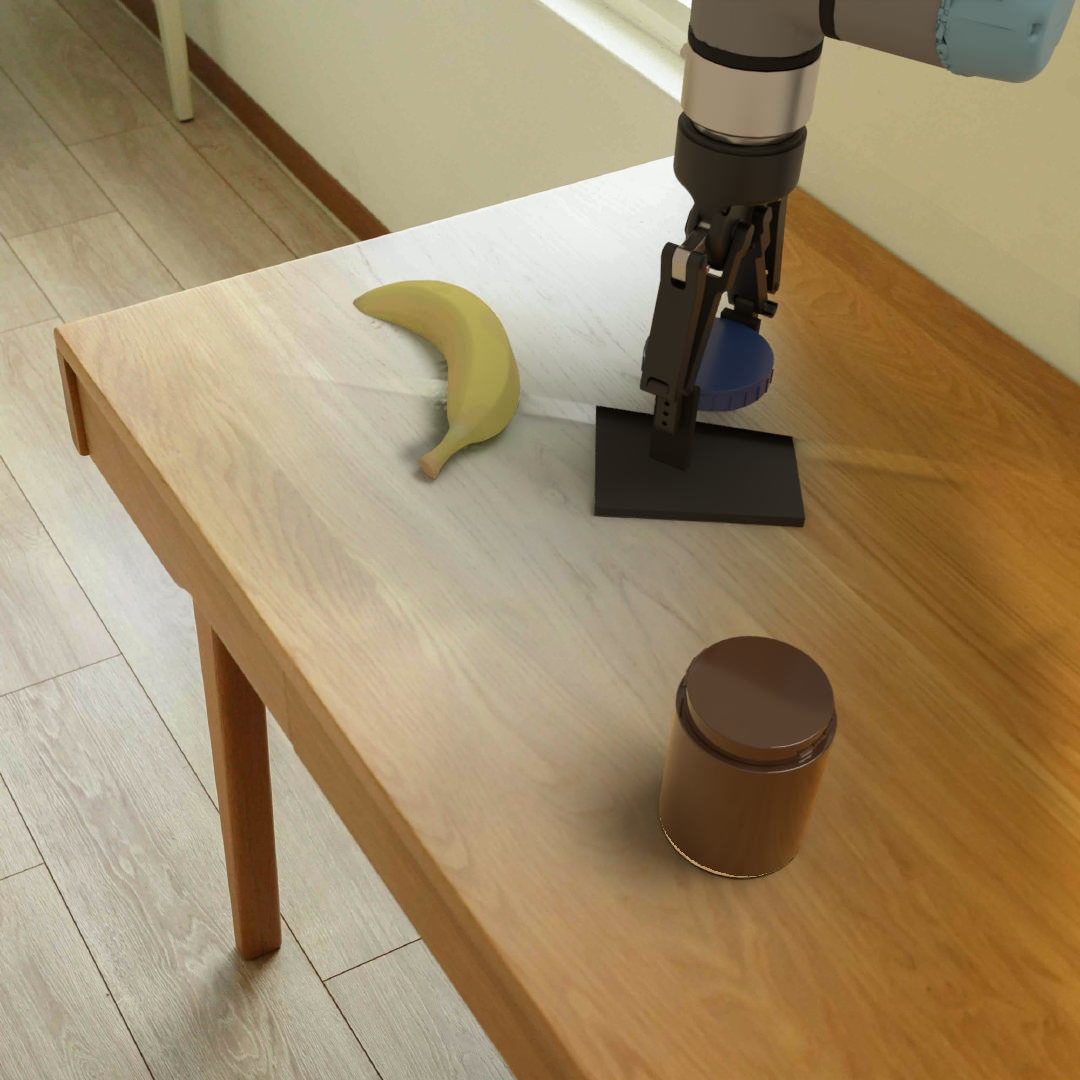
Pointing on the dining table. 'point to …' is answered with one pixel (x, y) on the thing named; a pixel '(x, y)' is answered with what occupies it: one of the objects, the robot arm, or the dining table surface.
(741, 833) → the jar
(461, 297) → the banana
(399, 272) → the dining table surface
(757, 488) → the tray
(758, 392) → the jar lid
